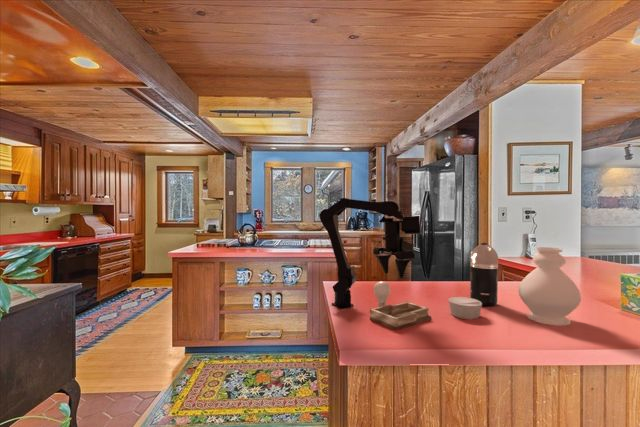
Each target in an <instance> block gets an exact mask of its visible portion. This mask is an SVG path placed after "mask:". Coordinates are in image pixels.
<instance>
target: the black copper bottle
mask: <svg viewBox="0 0 640 427" xmlns="http://www.w3.org/2000/svg"><path fill="white" fill-rule="evenodd" d="M469 263H470V264H469V265H470V292H469V293H470V294H469V295H470V297H469V298H472V299H476V300H478V301H480V302H481V303H482V307H494V306H496V305H497V304H498V293H499V292H498V291H499V290H498V284H499V283H498V281H499V280H498V275H499V273H498V272H499V271H498V269H499V255H498V252H497V251H496V250H495V249H494V248H493V247H492V246H491V245H489V243H487V242H481V243H480V244H479V245H477V246H475V247H474V248H473V250H472V251H471V252H470V262H469Z"/></svg>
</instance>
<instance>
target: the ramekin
mask: <svg viewBox="0 0 640 427" xmlns="http://www.w3.org/2000/svg"><path fill="white" fill-rule="evenodd" d="M448 303H449V310H450V313H451V314H452V316H453V317H456V318H459V319H464V320H475V319H478V318H479V317H480V315H481V311H482V307H483V306H482V303H481V302H480V301H478V300H476V299H472V298H470V297H465V296H454V297H449V298H448Z"/></svg>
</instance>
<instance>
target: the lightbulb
mask: <svg viewBox="0 0 640 427" xmlns="http://www.w3.org/2000/svg"><path fill="white" fill-rule="evenodd" d="M391 289H392V288H391V286H390V284H389V283H388V282H386V281H385V280H383V281H382V280H380V281H378V282H376V283H375V284H374V287H373V292H374V294H375V297H376V298H377V303H378V307H382V306H386V305H387V299H388V297H389V296H390V294H391V292H392V291H391Z"/></svg>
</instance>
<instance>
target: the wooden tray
mask: <svg viewBox="0 0 640 427" xmlns="http://www.w3.org/2000/svg"><path fill="white" fill-rule="evenodd" d="M369 320H371V321H373V322H376V323H379V324H381V325H383V326H386V327H388V328H390V329H393V330H395V331H397V330H401V329H403V328H407V327H409V326H413V325H416V324H420V323H423V322H426V321H431V320H432V315H429V307H425V306H422V305H419V304H415V303H413V302H409V301H405V302H401V303H397V304H386V305H385V306H382V307H379V306H378V307H374V308H370V309H369Z"/></svg>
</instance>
